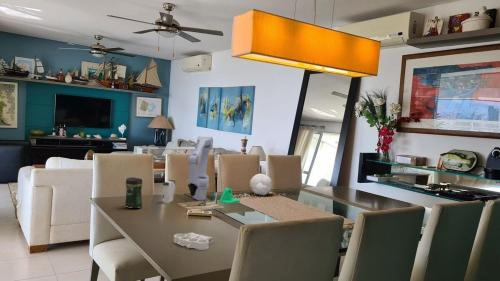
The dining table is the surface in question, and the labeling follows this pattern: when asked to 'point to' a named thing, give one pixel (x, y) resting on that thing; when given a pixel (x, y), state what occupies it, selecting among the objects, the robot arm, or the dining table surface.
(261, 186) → the decorative orb
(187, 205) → the bar with round base
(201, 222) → the dining table surface
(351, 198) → the dining table surface
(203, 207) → the base plate
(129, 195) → the coffee jar
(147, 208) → the dining table surface
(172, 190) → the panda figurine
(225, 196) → the camera mount
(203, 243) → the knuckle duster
